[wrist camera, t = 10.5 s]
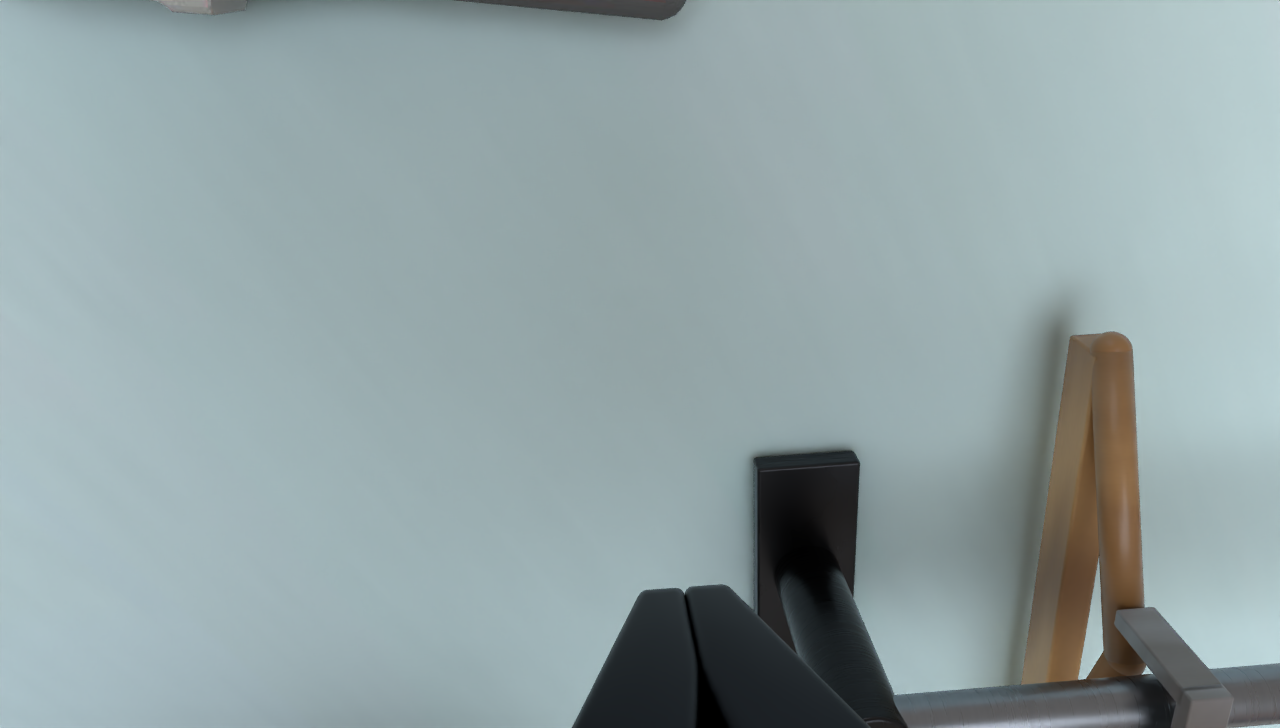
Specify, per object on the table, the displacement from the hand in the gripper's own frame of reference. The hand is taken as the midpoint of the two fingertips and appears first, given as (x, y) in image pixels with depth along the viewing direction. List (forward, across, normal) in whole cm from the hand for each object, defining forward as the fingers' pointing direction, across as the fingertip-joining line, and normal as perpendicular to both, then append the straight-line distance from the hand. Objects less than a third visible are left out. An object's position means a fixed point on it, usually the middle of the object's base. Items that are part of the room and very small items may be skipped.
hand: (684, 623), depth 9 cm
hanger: (+12, -10, +8) cm, 17 cm away
